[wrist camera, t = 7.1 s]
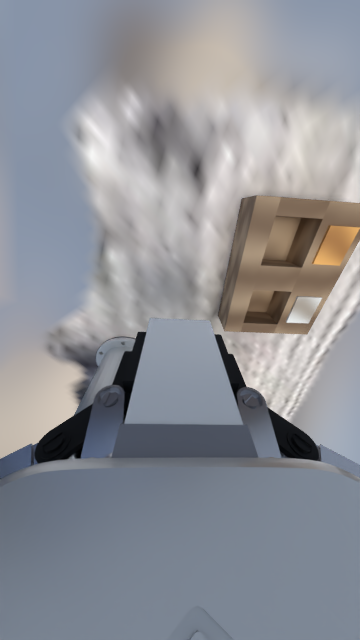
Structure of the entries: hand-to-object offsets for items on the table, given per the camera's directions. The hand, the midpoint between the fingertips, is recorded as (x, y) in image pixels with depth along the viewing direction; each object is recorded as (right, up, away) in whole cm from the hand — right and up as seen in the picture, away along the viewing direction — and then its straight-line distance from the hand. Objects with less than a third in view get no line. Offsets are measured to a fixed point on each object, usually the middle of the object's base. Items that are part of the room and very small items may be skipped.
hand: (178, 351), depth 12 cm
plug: (0, 0, +1) cm, 1 cm away
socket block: (+15, +10, +16) cm, 24 cm away
